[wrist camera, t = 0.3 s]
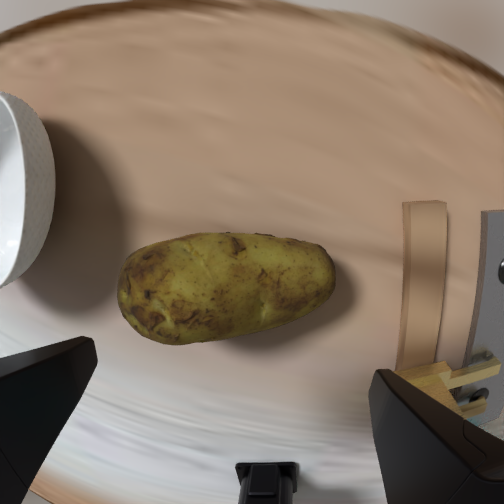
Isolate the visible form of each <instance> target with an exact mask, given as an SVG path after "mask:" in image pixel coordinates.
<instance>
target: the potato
mask: <svg viewBox="0 0 504 504" xmlns="http://www.w3.org/2000/svg"><path fill="white" fill-rule="evenodd" d="M335 280H336V277H335V266H334V263H333V261H332V259H331V257H330V256H329V255H328V254H327V252H326V250H325V249H324V248H323V247H322V246H320V245H318V244H313V243H309V242H305V241H299V240H296V239H292V238H277V237H275V236H272V235H268V234H259V233H255V234H245V233H230V232H226V233H196V234H190V235H186V236H183V237H179V238H175V239H171V240H167V241H162V242H158V243H155V244H152V245H149V246H146V247H144V248H141V249H138V250H137V251H135V252H134V253H132V254H131V255H130V256H129V257H128V258H127V260H126V262H125V263H124V265H123V267H122V269H121V272H120V275H119V280H118V292H117V298H118V304H119V308H120V310H121V312H122V315H123V317H124V318H125V319H126V320H127V321H128V322H129V324H130V325H131V326H132V327H133V329H134V330H136V331H137V332H138V333H139V334H141V335H142V336H144V337H146V338H148V339H151V340H153V341H156V342H159V343H162V344H167V345H186V344H191V343H195V342H202V343H203V342H209V341H218V340H223V339H228V338H233V337H237V336H240V335H245V334H250V333H255V332H259V331H263V330H267V329H271V328H275V327H278V326H281V325H284V324H286V323H289V322H291V321H294V320H296V319H298V318H300V317H302V316H304V315H306V314H308V313H310V312H311V311H313V310H314V309H316V308H317V307H319V306H320V305H321V304H323V303H324V302H325V301H326V300H327V299H328V298H329V297H330V296H331V294H332V293H333V291H334V288H335Z"/></svg>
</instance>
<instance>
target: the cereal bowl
mask: <svg viewBox="0 0 504 504" xmlns="http://www.w3.org/2000/svg"><path fill="white" fill-rule="evenodd" d="M54 165H55V163H54V158H53V152H52V149H51V145H50V141H49V137H48V135H47V132H46V129H45V127H44V126H43V124H42V121H41V119H40V118H39V117H38V115H37V113H36V112H34V110H33V109H32V108H31V107H30V106H29V105H28V104H27V103H25V102H24V101H23V100H21V99H19V98H18V97H16V96H13V95H11V94H8V93H5V92H1V91H0V288H2V287H3V286H6V285H8V284H9V283H11V282H13V281H14V280H15V279H17V278H18V277H20V276H21V274H23V273H24V272H25V271H26V270H27V269H28V268H29V267H30V266H31V264H32V263H33V262H34V261H35V259H36V257H37V256H38V254H39V252H40V250H41V248H42V246H43V245H44V241H45V239H46V236H47V233H48V231H49V229H50V223H51V221H52V214H53V210H54V199H55V187H56V185H55V182H56V179H55V176H56V175H55V167H54Z"/></svg>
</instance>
